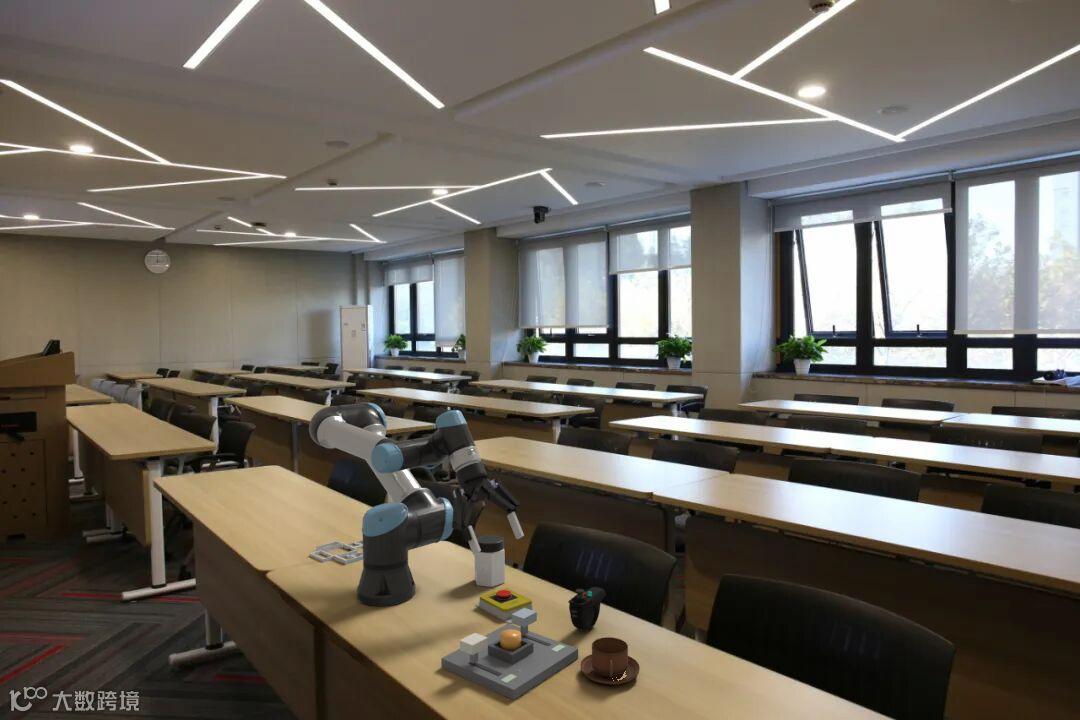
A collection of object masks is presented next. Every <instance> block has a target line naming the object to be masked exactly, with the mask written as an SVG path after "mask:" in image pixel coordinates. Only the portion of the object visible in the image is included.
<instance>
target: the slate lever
mask: <svg viewBox="0 0 1080 720" xmlns="http://www.w3.org/2000/svg"><path fill="white" fill-rule="evenodd" d="M535 611H536V610H535ZM535 611H532V610H529V609H526V608H523V609H521V610H519V611H517V612H515V613H513V614H512V623H511V624H512V625H516V626H517V627H518V626H519V628H520V632H521V634H522V635H526V634H528V631H529V626H530V625H531V624H534V623H535V622H537V620H538V618H537V617H538V616H537V615H538V614H537V612H538V611H537V612H535Z"/></svg>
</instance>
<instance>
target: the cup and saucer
mask: <svg viewBox="0 0 1080 720" xmlns="http://www.w3.org/2000/svg"><path fill="white" fill-rule="evenodd" d="M580 670H581V673H582V674H583V675H584V676H585V677H587V678H588V679H589V680H591V681H593V682H595V683H598V684H602V685H622V684H626V683H628V682H631V681H632V680H633V679H635V678H636V677H637V676H638V675H639V674H640V673H639V672H640V664H639V662H638V660H636V659H635V658H633V657H631V656H629V645H628V643H627V642H626V641H624V640H622V639H621V638H617V637H611V636H609V637H601V638H596V639H595V640H594V641H592V643H591V654H589V655H587V656H585V657H584V658H582V660H581V661H580ZM625 671H626V672H625ZM624 672H625V673H626V674H625V675H627V676H626V677H625V678H623V679H622V680H619V681H618V680H617V679H620V678H621V677H622V676H623V674H624ZM616 677H617V678H616ZM612 678H613V679H612ZM613 680H614V681H613Z"/></svg>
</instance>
